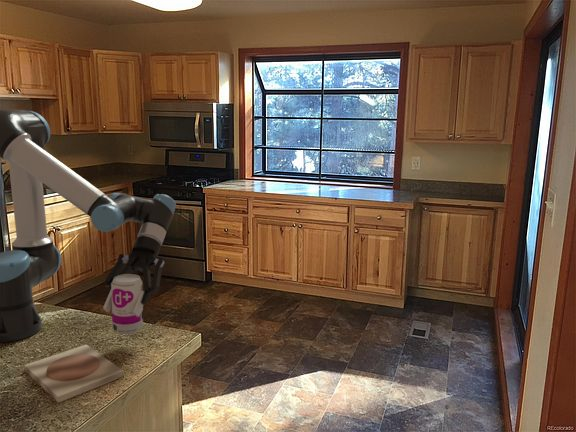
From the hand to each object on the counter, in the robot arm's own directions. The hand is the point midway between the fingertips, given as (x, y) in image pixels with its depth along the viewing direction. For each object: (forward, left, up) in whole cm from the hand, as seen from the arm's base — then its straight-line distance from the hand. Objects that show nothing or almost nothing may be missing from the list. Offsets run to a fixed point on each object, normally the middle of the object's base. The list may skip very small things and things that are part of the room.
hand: (120, 312), depth 130 cm
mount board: (+2, -14, -11) cm, 18 cm away
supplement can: (-2, +3, -6) cm, 7 cm away
